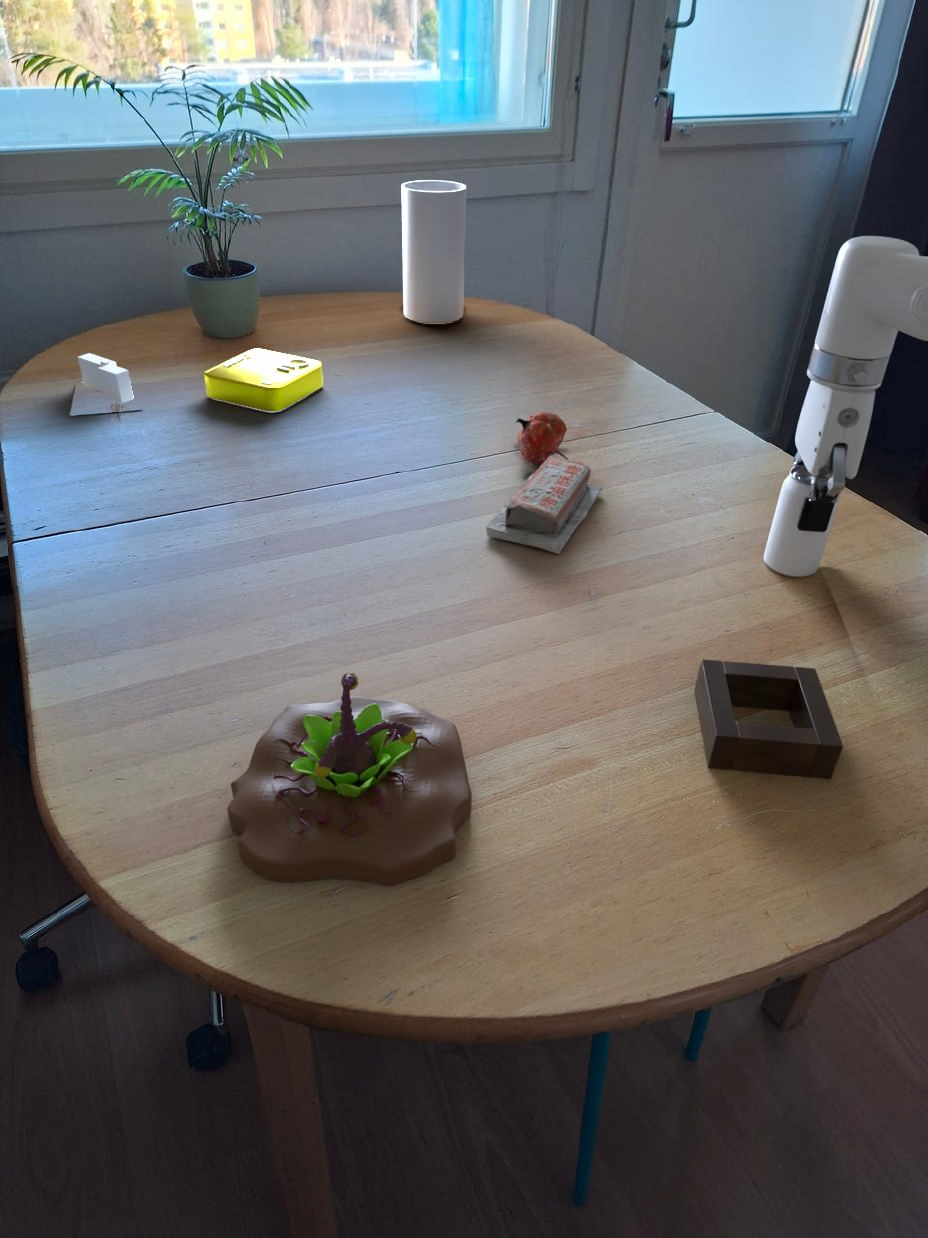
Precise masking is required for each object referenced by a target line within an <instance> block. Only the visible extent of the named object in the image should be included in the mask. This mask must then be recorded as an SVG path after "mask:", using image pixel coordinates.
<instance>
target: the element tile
mask: <svg viewBox="0 0 928 1238" xmlns="http://www.w3.org/2000/svg"><path fill="white" fill-rule="evenodd" d="M323 372H324V371H323V363H322V362H321V361H319V360H315V359H311V358H306V357H302V356H297V355H292V354H286V353H283V352H277V351H273V350H267V349H262V348H253V349H250V350H247V351H245V352H243V353H240V354H238V355H236V356H235V357H232V358H230V359H228V360H226V361H224V362H222V363H219V364H218V365H215V366H213V367H211V368H208V369H207V370H205V371H204V372H203V378H204V383H205V384H204V385H205V391H206V397H207V396H208V397H210V398H214V399H218V400H222V401H227V402H231V403H235V404H239V405H244V406H248V407H252V408H257V409H261V410H265V411H279V410H282V409H284V408H286V407H288V406H290V405H291V404H293V403H295V402H297V401H298V400H300V399H302V398H304V397H305V396H307V395H309V394H310V393H312V392H314V391H316V390H317V389H319V388H321V387H322V386H323V385H324V373H323ZM323 387H324V386H323ZM208 397H207V398H208Z"/></svg>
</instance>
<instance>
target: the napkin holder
mask: <svg viewBox="0 0 928 1238" xmlns="http://www.w3.org/2000/svg"><path fill="white" fill-rule="evenodd" d="M77 362H78V366H79V369H80V374H81V378H82V383H84V385H85V386H88V387H91V388H94V389H96V390H99V391H102V392H103V394H104V397H107V398H109V399H112V400H115V401H117V402H120V403H124V402H127V401H130V400H133V399H134V395H133V391H132V386H131V381H130V379H131V376H130V372H129V371H130V370H129V369H126V368H124V367H120V366H118V365H117V361H115V360H111V359H109V358H105V357H102V356H100V355H96V354H93V353H90V352H89V353H85V354H82V355H78V356H77Z"/></svg>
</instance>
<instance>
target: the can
mask: <svg viewBox="0 0 928 1238" xmlns="http://www.w3.org/2000/svg"><path fill="white" fill-rule="evenodd" d="M819 471H820V473H830V468H822V467H820V470H819ZM811 477H812V474H811V473H810V472H809V471H808V470H807V468H806V466H805V465H799V466H795V467H793V466H792V468H790V470H789V474H788V475H787V477H786V478H784V480H783V482H782V486H781V488H780V492H779V496H778V500H777V504H776V508H775V512H774V515H773V519H772V522H771V525H770V530H769V534H768V538H767V541H766V545H765V549H764V553H763V562H764V563H765V565H766V567H768V568H769V569H770V570H771V571H773V572H774V573H776V574H779V575H781V576H785V577H789V578H795V579H796V578H797V579H798V578H799V579H801V578H807V577H810V576H812V575H813V574H815V573H817V571H818V570H819V568H820V564H821V561H822V558H823V555H824V553H825V550H826V549H825V548H826V546H827V542H828V539H829V536H830V533H831V529H832V526H833V523H834V519H835V516H836V513H837V510H838V507H839V503H840V499H841V496H842V491H841V492H840V494H839V495H838V497H837V501H836V503H835V504H834V508H833V511H832V514H831V517H830V521H829V524H828V527H827V530H826V531H825V532H813V531H800V530H798V527H797V524H798V520H799V517H800V513H801V510H802V506H803V503H804V499H805V497H809V492H810V484H811ZM828 481H829V479H823V478H819V485H818V489H819V488H820V487H821V486H822V485H827V482H828Z"/></svg>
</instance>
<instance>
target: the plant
mask: <svg viewBox="0 0 928 1238" xmlns="http://www.w3.org/2000/svg"><path fill="white" fill-rule="evenodd" d="M340 683H341V687H342V692H341V693H342V695H341V698H340V699H336V700H333V701H328V702H313V703H311V702H310V703H303V704H289V705H287V707H286V708H285V709H284V710H283V711H282V712H281V713H280V714H279V715H277V716H276V718H275V719H273V722H272V723H271V725H270V726H269V728H268V729H267V730H266V732H264V733H263V734H262V735H261V737H260V738H259V739H258V740H257V742H256V744H255V746H254V749H253V753H252V755H251V758H250V762H249V764H248V767H247V769H246V771H244V772H243V773H242V775H240V776H239V777H237V778H236V779H235V780H233V781H231V782H230V789H231V794H232V798H233V799H232V800H231V801H230V802H229V804H228V806H227V813H228V819H229V825H230V828H231V830H232V831H233V832H234V833H236V834H237V835H239V836H240V837H239V839H238V840H237V850H238V855H239V859H240V861H242V862H243V863H244V864H245V866H246V867H248V868H249V869H250V870H252V871H253V872H254V873H256V874H257V875H258V876H260V877H263V878H264V879H267V880H270V881H274V882H280V883H281V882H283V883H284V882H285V883H292V882H293V883H294V882H303V881H304V882H305V881H311V880H318V879H343V880H344V879H345V880H346V879H347V880H358V881H361V880H362V881H370V882H374V883H377V884H380V885H383V886H394V885H397V884H398V883H400V882H402V881H406V880H411V879H415V878H419V877H421V876H424V875H426V874H428V873H429V872H431V871H432V870H433V869H434V868H437V867H438V866H439V865H441V864H444V863H446V862H449V861H452V860H454V859H455V858H456V855H457V837H456V835H455V834H456V832H457V830H458V829H459V827H460V826H461V825H462V824H463V823H464V822H465V821H466V820H468V818H470V816H471V812H472V803H473V800H472V799H473V798H472V796H473V795H472V789H471V786H470V782H469V775H468V770H467V765H466V760H465V756H464V753H463V745H462V741H461V737H460V734H459V732H458V728H457V726H456V725H455V723H453V722H452V721H448V720H446V719H443V718H441V717H439V716H436V715H435V714H433V713H430V712H428V711H425V710H423V709H421V708H420V707H418V706H416V705H412V704H410V703H406V702H401V701H397V700H393V699H381V698H373V697H363V696H351V691H353V690H355V689H356V688H357V687H358V685H359V677H358V675H357V674H356V673H354V672H345V673H344V674H343V675H342V676H341V681H340Z"/></svg>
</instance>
